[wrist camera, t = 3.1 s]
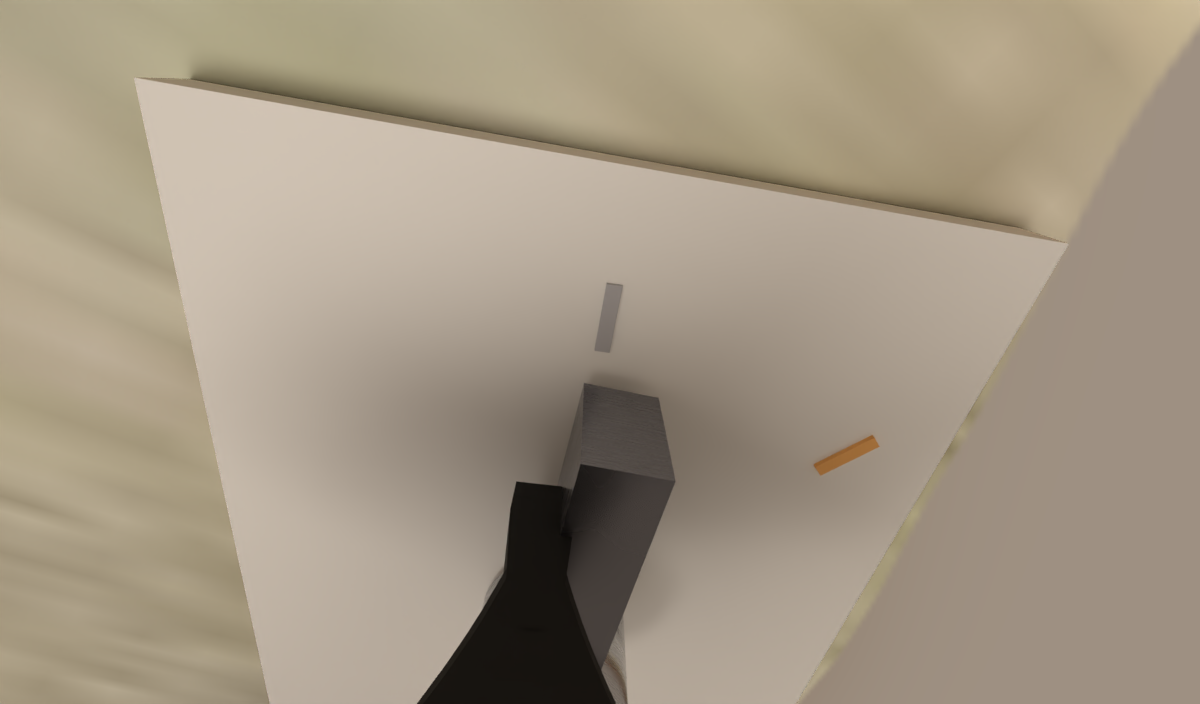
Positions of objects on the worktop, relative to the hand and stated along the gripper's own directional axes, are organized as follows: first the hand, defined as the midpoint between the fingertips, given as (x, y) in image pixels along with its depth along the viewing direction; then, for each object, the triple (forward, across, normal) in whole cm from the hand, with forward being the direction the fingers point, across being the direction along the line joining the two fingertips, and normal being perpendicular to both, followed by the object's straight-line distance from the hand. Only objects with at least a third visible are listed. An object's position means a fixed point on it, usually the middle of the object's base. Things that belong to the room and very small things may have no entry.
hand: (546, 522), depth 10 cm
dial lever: (+1, -1, +2) cm, 2 cm away
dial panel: (+3, -1, +2) cm, 3 cm away
